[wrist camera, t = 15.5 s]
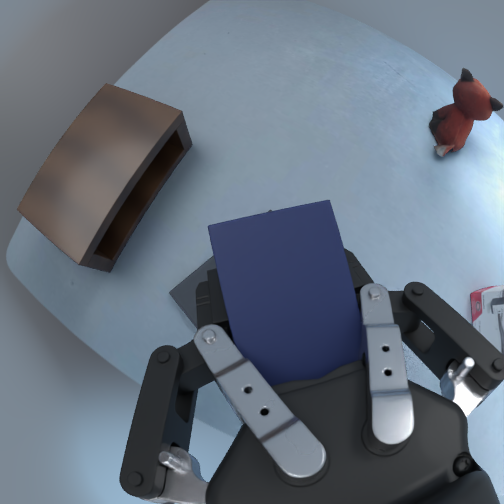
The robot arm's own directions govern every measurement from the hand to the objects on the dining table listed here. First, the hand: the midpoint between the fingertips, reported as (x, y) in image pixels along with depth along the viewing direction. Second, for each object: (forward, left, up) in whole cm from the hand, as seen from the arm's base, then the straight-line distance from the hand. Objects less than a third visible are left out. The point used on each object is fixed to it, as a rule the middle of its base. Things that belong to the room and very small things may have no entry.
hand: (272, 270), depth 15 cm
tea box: (-1, -2, -7) cm, 7 cm away
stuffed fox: (+35, -2, -16) cm, 39 cm away
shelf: (-6, +20, -16) cm, 27 cm away
